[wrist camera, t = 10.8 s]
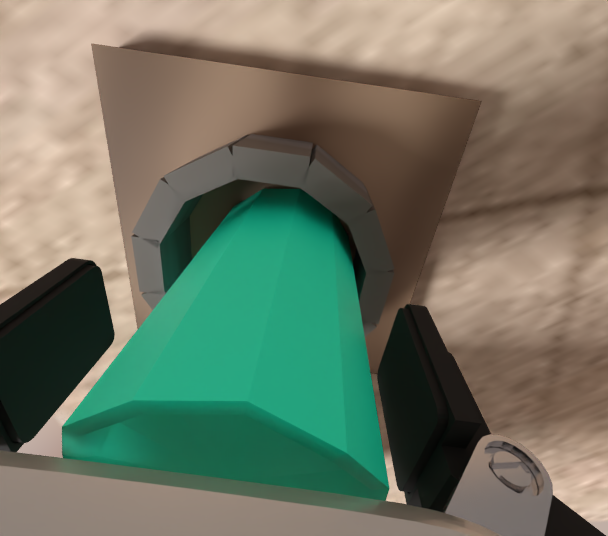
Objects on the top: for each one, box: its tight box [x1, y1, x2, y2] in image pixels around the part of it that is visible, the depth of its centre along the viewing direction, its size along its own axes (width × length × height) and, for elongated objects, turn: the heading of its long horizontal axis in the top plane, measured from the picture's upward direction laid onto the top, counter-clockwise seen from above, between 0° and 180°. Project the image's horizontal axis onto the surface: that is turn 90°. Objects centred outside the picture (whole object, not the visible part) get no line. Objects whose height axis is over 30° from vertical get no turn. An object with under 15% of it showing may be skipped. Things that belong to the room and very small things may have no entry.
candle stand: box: [91, 44, 482, 374], centre depth 14 cm, size 14×14×4 cm
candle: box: [62, 189, 389, 501], centre depth 10 cm, size 6×6×12 cm
